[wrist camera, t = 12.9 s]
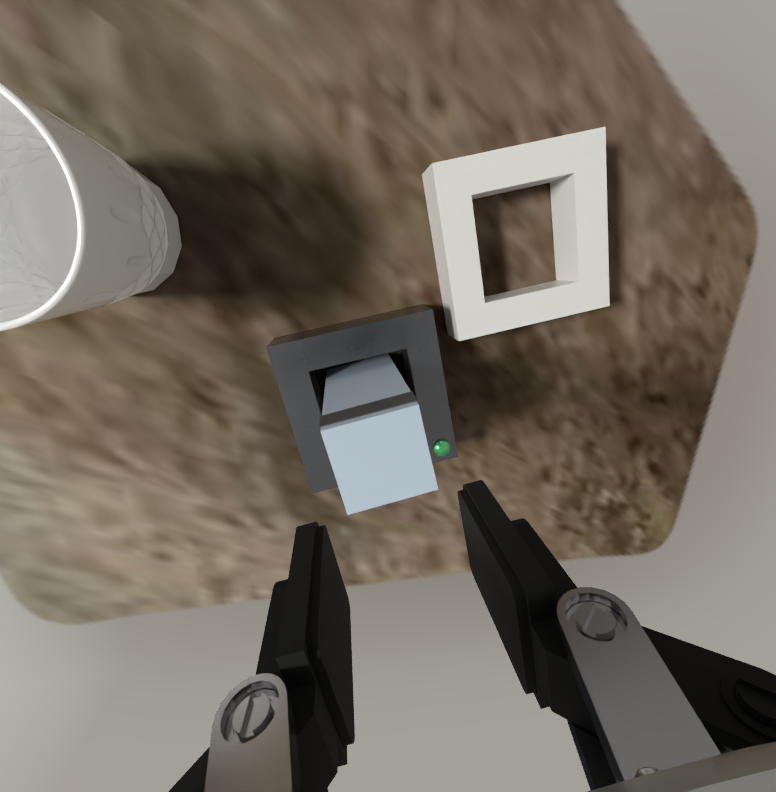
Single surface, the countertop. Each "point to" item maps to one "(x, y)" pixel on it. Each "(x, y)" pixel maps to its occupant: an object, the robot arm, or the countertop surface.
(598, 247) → the holster
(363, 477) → the plug
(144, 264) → the white cup
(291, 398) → the port
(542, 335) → the countertop surface
